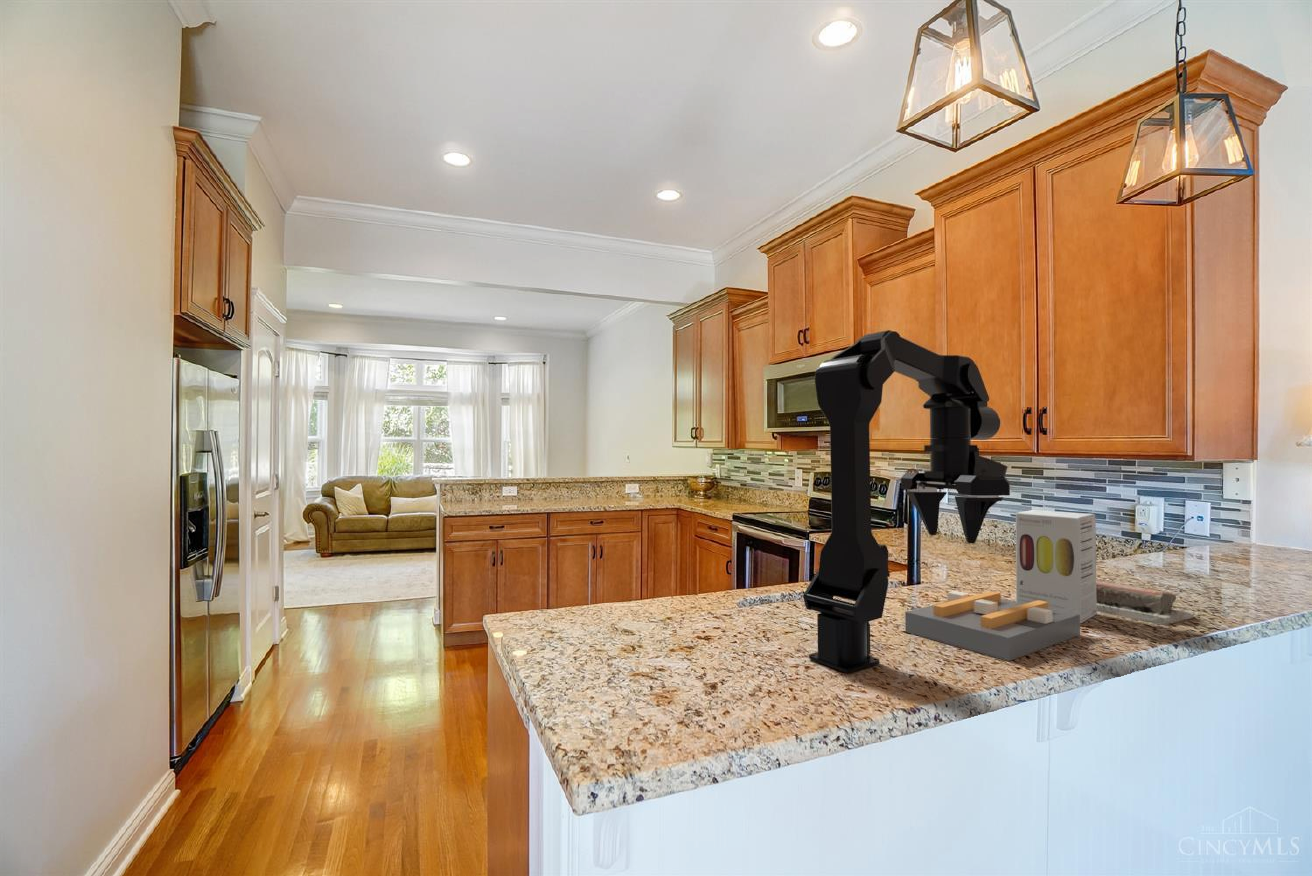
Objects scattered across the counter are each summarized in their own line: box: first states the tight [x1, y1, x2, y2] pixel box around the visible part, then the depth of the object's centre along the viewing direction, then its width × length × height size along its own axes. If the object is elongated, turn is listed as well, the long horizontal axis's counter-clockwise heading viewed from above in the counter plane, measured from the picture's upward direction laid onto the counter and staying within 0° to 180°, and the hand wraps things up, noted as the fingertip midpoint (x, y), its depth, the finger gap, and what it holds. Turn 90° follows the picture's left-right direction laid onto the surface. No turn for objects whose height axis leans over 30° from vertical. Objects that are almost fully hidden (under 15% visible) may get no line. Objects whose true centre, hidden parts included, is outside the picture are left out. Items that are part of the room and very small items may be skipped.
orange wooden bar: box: [932, 591, 1002, 617], centre depth 91 cm, size 16×1×1 cm, turn 122°
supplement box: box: [1015, 509, 1098, 624], centre depth 99 cm, size 10×9×17 cm
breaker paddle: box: [974, 599, 998, 615], centre depth 88 cm, size 2×2×2 cm
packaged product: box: [1096, 578, 1195, 626], centre depth 102 cm, size 18×5×10 cm
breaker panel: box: [904, 590, 1081, 662], centre depth 88 cm, size 20×15×5 cm
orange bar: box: [981, 600, 1048, 629], centre depth 85 cm, size 16×1×1 cm, turn 122°
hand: (951, 538), depth 92 cm, fingers open, 9 cm apart
